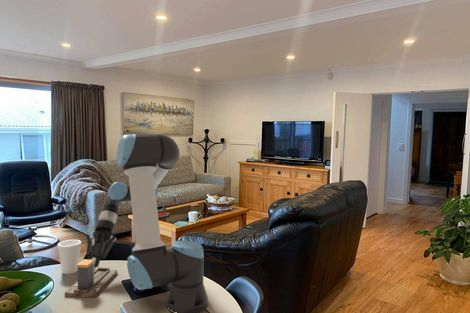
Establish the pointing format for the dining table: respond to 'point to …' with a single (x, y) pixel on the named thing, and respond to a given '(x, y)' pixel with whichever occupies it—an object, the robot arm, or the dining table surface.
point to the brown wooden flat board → (100, 281)
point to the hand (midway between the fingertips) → (90, 274)
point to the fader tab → (85, 274)
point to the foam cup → (69, 255)
